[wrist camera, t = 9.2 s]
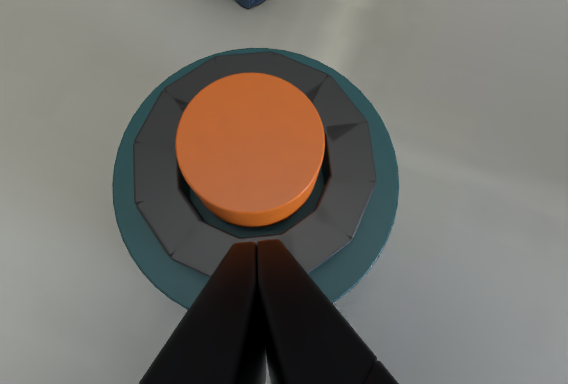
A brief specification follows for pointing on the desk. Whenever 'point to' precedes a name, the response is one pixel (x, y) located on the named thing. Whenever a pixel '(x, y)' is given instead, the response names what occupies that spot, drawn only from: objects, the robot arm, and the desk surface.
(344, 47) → the desk surface
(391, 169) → the teal jar
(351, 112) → the cap
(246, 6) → the vaping device
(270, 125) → the nozzle
